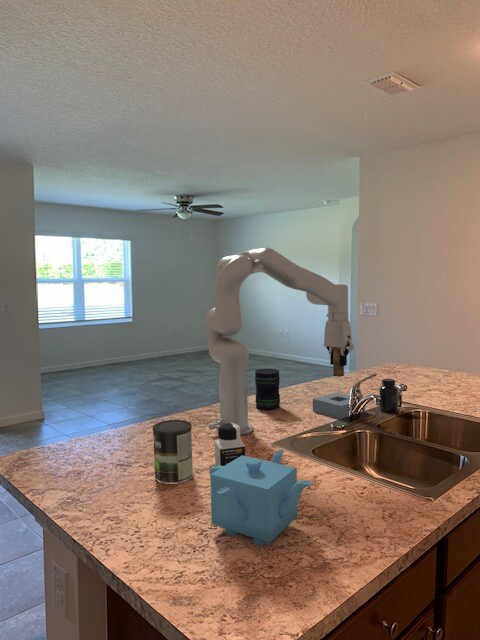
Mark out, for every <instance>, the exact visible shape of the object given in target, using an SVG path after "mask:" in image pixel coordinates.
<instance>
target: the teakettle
mask: <svg viewBox="0 0 480 640" xmlns="http://www.w3.org/2000/svg"><path fill="white" fill-rule="evenodd" d="M283 455H284V450H283V449H280V450H276V452H274V454H273V455H272V458H271V460H269V461H268V460H265V459H258V458H255V457H250V456H247V455H245V456H240V457H239V458H237V459H235V460H233V461H232V462H230V463H228V464H227V465H225V466H216V465H215V466H214V465H213V466H212V467H211V468H210V469H209V480H210V481H209V483H210V485H209V486H210V488H209V489H210V510H211V511H210V512H211V515H210V517H211V524H212V525H214V526H217V527H220V528H223V529H225V530H224V534H225V535H227V536H236V535H237V534H240V535H243V536H246V537H249V538H252V539H253V544H254V545H256V546H258V547H259V546H260V547H263V546H266V545H268V544H271V543H272V541H274V540H275V539H276V538H277V537H278V536H279V535H280V534H281V533H282V532H283V531H284V530H285V529H286V528H287V527H288V526H289V525H290V524H291V523H292V522H293V521H295V520H296V519H297V518H298V505H299V502H300V499H301V495H302V492H303V490H304V489H305V488H307V487H310V486H312V485H314V482H312V481H309V480H299V481H298V476H297V475H298V472H297V471H298V469H297V467H296V466H295V467H294V466H290V465H285V464H283V463H282V464H281V460H282V458H283Z"/></svg>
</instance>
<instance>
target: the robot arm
mask: <svg viewBox="0 0 480 640" xmlns="http://www.w3.org/2000/svg"><path fill="white" fill-rule="evenodd" d="M216 270H217V275H218V276H217V278H216V280H215V282H214V286H213V301H214V302H213V303H214V307H213V308H211V309H210V310H209V311H208V312H207V315H206V318H205V330H206V340H207V348H208V353H209V356H210V357H211V358H212V360H213V361H214V362H216V363H219V364H220V370H219V377H218V387H219V391H218V392H219V415H220V416H219V417H218V418H217V421H216V422H213V423H208V429H209V430H210V431H211V430H216V431H215V432H217V433H218V427H219V426H220V425H223V424H226V423H233V424H237V425H238V426H239V427H240V436H245V435H247V434H250V433H252V431H253V429H254V428H253V425H252V424H251V423H250V422H249V415H248V413H249V409H248V408H249V403H248V401H249V400H248V366H249V349H248V347H247V346H246V345H245V344H244V343H243V342H242V341H241V340H238V339H235V338H233V336H235V335H237V334H238V333H240V331H241V329H242V325H243V321H242V320H243V319H242V312H241V303H240V292H241V291H240V290H241V287H242V285H243V283H244V282H245V281H246V279H247V278H249V277H250V275H253V274H256V273H264V274H265V275H267V276H269V278H270V277H271V278H272V279H274V280H275V281H277V282H279V283H280V284H281V285H283V286H285V287H287V288H289V289H293V290H296V291H301V292H305V297H306V299H307V301H308V302H309V303H310V304H312V305H316V306H317V305H320V306H327V313H326V317H327V320H326V321H325V327H324V335H323V338H324V339H323V342H324V343H323V346H324V347H325V348H326V350H327V351H328V354H329V355H330V356H329V357H330V359H329V360H330V362H329V363H330V365H332V366H333V347H336V348H340V350H341V356H340V366H344V367H345V366H347V365H348V363H347V362H348V355H349V353H351V351H353V350H354V349H355V347H354V345H353V341H352V338H353V337H352V328H351V322H350V320H349V287H348V285H347V284H343V283H341V284H339V283H338V284H335V283H334V282H331V281H330V280H329V279H328V278H326V277H324V276H322V275H320V274H318V273H315V272H313V271H311V270H309V269H307V268H304V267H302V266H299V265H298V264H296V263H295V262H293V261H292V260H290V259H289V258H287V257H285V256H284V255H282V253H279V252H278V251H277V250H275V249H273V248H270V247H262V248H261V247H260V248H254V249H251V250H247V251H243V252H240V253H239V252H238V253H235V254H232V255H228V256H224V257H223V258H221V259H220V260H219V261H218V263H217V266H216Z"/></svg>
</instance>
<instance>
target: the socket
mask: <svg viewBox="0 0 480 640" xmlns="http://www.w3.org/2000/svg"><path fill="white" fill-rule="evenodd" d="M350 396H351V395H350V394H345V393H340V392H333V393H329V394H326V395H322V396H319V397H314V398H312V412H314V413H316V414H321V415H324V416H328V417H331V418H334V419H339V420H343V419H342V418H344V419H346V418H345V417H347V418H349V417H348V416H349V411H350V407H349V400H350ZM365 412H366V405H365V406H364V408H363V409H362V411H361V413H360V414H362V413H365Z"/></svg>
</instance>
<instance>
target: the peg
mask: <svg viewBox="0 0 480 640" xmlns="http://www.w3.org/2000/svg"><path fill="white" fill-rule="evenodd" d="M340 356H341V350H340V348H336V347H333V365H332V367H333V373H332V374H333V375H332V376H333V377H338V378H339V377H340V378H341V377H344V376H345V366H340Z"/></svg>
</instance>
